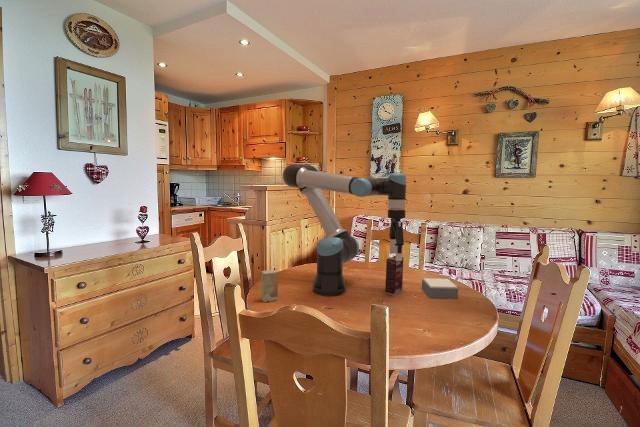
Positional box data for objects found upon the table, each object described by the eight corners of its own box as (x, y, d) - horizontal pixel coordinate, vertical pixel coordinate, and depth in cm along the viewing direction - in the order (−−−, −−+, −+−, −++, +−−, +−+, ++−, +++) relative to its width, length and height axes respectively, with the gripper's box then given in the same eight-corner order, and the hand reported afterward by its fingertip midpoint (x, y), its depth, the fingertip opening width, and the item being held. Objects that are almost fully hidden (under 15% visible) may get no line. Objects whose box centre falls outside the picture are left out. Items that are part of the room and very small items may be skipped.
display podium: (429, 297, 139) (429, 286, 138) (421, 288, 151) (422, 278, 150) (457, 298, 138) (458, 287, 138) (447, 289, 150) (448, 278, 150)
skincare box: (263, 302, 132) (263, 273, 131) (260, 299, 136) (260, 271, 135) (278, 300, 135) (278, 271, 134) (275, 296, 139) (274, 269, 138)
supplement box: (394, 296, 141) (396, 260, 139) (384, 293, 144) (385, 258, 142) (402, 291, 147) (404, 256, 146) (393, 288, 150) (394, 255, 149)
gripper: (412, 211, 129) (411, 263, 131) (399, 206, 154) (398, 250, 156) (393, 211, 129) (392, 263, 131) (383, 206, 154) (382, 250, 156)
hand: (395, 256), depth 144 cm, fingers open, 13 cm apart
